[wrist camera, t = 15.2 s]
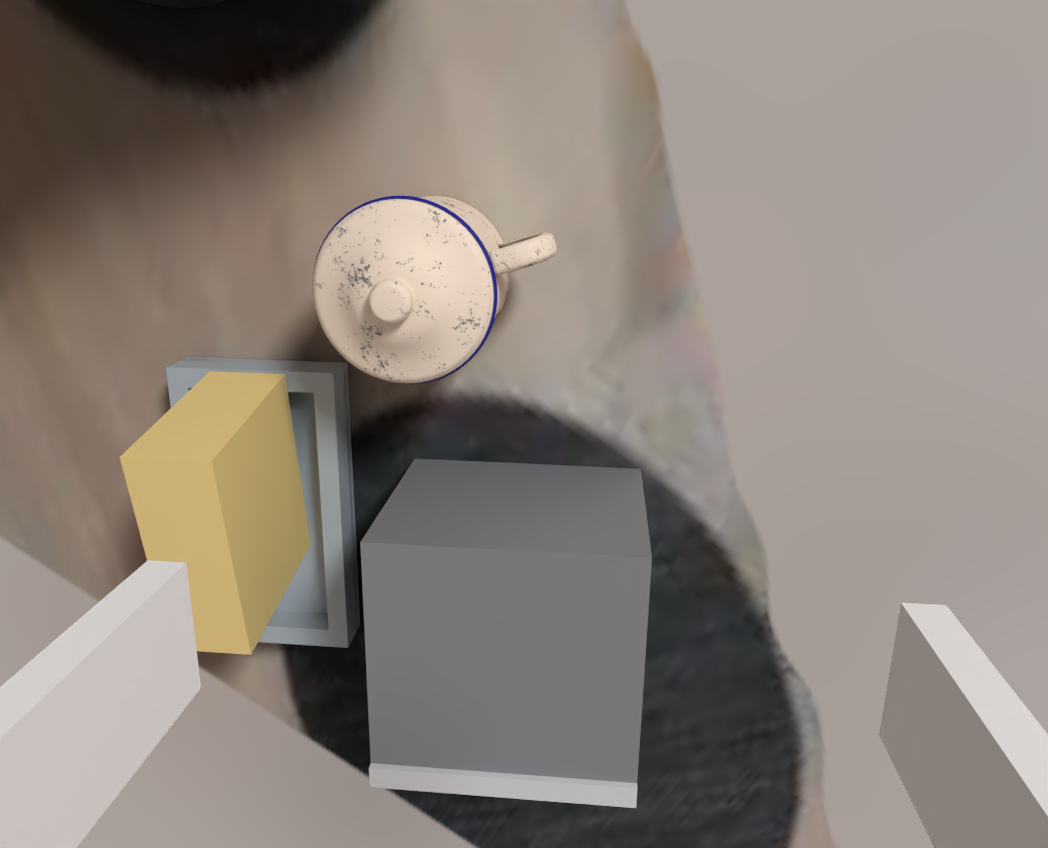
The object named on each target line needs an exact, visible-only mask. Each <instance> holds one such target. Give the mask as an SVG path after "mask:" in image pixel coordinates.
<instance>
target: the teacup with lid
mask: <svg viewBox="0 0 1048 848" xmlns="http://www.w3.org/2000/svg"><path fill="white" fill-rule="evenodd" d="M556 251H557V247H556V243H555V240H554V237H553V236H552V235H551V234H550V233H538V234H534V235H530V236H526V237H523V238H519V239H516V240H512V241H509V242H505V243H503V241H502V239H501V237H500V235H499V234H498V232H497V230H496V229H495V228H494V226H493V225H492V224H491V223H490V222H489V220H488V219H487V218H486V217H484V216H483V215H482V214H481V213H480V212H479V211H477V210H476V209H474V208H473V207H471V206H469V205H468V204H465V203H463V202H461V201H458V200H456V199H452V198H448V197H442V196H424V197H418V198H417V197H411V196H389V197H383V198H379V199H375V200H372V201H369V202H366V203H364V204H362V205H360V206H358V207H356V208H355V209H353V210H352V211H350V212H348V213H347V214H346V215H345V216H344V217H342V218H341V219H340V220H339V221H338V222H337V223H336V224H335V225H334V227H333V228H332V229H331V230H330V232H329V233H328V235H327V236H326V238H325V239H324V241H323V243H322V245H321V247H320V250H319V252H318V255H317V258H316V262H315V266H314V272H313V299H314V305H315V309H316V313H317V316H318V319H319V322H320V324H321V326H322V329H323V330H324V332H325V334H326V336H327V337H328V339H329V340H330V342H331V343H332V345H333V346H334V347H335V349H336V350H337V351H338V352H339V353H340V354H341V355H342V356H343V357H344V358H345V359H346V360H347V361H349V362H350V363H351V364H352V365H354V366H355V367H357V368H358V369H360V370H361V371H363V372H365V373H367V374H369V375H371V376H373V377H376V378H379V379H381V380H385V381H389V382H394V383H400V384H419V383H426V382H431V381H435V380H438V379H441V378H443V377H446V376H448V375H450V374H452V373H453V372H455V371H457V370H458V369H460V368H461V367H463V366H464V365H465V364H466V363H467V362H469V361H470V360H471V359H472V358H473V357H474V356H475V354H476V353H477V352H478V351H479V350H480V348H481V347H482V345H483V344H484V342H485V340H486V339H487V337H488V335H489V333H490V330H491V328H492V325H493V322H494V320H495V319H496V318H497V316H498V315H499V313H500V311H501V309H502V307H503V305H504V303H505V300H506V297H507V294H508V290H509V283H510V272H513V271H516V270H519V269H522V268H526V267H529V266H532V265H534V264H537V263H540V262H543V261H545V260H547V259H550V258H551V257H553V256H554V255H555V253H556Z"/></svg>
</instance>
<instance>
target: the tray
mask: <svg viewBox="0 0 1048 848" xmlns="http://www.w3.org/2000/svg"><path fill="white" fill-rule="evenodd" d="M209 371H217V372H244V373H272V374H285V377H286V384H287V390H288V397H289V404H290V410H291V417H292V424H293V431H294V437H295V444H296V451H297V457H298V464H299V471H300V477H301V484H302V491H303V498H304V504H305V511H306V518H307V524H308V531H309V538H310V544H311V545H310V547H309V548H308V550H307V552H306V554H305V556H304V558H303V560H302V561H301V563H300V565H299V567H298V569H297V571H296V573H295V574H294V576H293V578H292V580H291V582H290V584H289V585H288V587H287V589H286V591H285V593H284V595H283V597H282V598H281V600H280V602H279V604H278V606H277V608H276V610H275V611H274V613H273V615H272V617H271V619H270V621H269V623H268V624H267V626H266V628H265V630H264V632H263V634H262V636H261V637H260V639H259V641H258V642H266V643H281V644H297V645H312V646H328V647H344V648H348V647H349V645H350V643H351V641H352V639H353V638H354V636H355V634H356V632H357V630H358V628H359V626H360V609H359V589H358V569H357V548H356V528H355V508H354V487H353V467H352V447H351V426H350V406H349V386H348V365H347V362H319V361H290V360H262V359H234V358H205V357H187V358H185V359H183V360H181V361H179V362H176V363H174V364H172V365H170V366H168V367H166V372H167V380H168V389H169V398H170V406H171V408H172V407H173V406H174V405H175V404H176V403H177V402H178V401H179V400H180V399H181V398H182V397H183V396H184V395H185V394H186V393H187V392H188V391H190V390H191V389H192V388H193V387H194V386H195V385H196V384H197V383H198V382H199V381H200V380H201V379H202V378H203V377H204V376H205V375H206V374H207V373H208V372H209Z"/></svg>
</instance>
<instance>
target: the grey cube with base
mask: <svg viewBox="0 0 1048 848" xmlns="http://www.w3.org/2000/svg"><path fill="white" fill-rule="evenodd" d="M360 547H361V568H362V589H363V610H364V631H365V652H366V673H367V694H368V715H369V736H370V757H371V764H370V766H369V783H370V787H374V788H387V789H399V790H412V791H425V792H438V793H450V794H463V795H476V796H489V797H502V798H514V799H527V800H540V801H553V802H566V803H578V804H591V805H604V806H617V807H629V808H636V800H637V775H638V760H639V745H640V730H641V715H642V699H643V684H644V669H645V654H646V639H647V623H648V608H649V593H650V578H651V563H652V555H651V547H650V539H649V531H648V523H647V515H646V507H645V499H644V491H643V483H642V475H641V469H634V468H612V467H589V466H567V465H545V464H522V463H500V462H477V461H455V460H433V459H414V461H413V462H412V464H411V465H410V467H409V468H408V470H407V471H406V473H405V474H404V476H403V477H402V479H401V481H400V482H399V484H398V485H397V487H396V488H395V490H394V491H393V493H392V494H391V496H390V497H389V499H388V500H387V502H386V504H385V505H384V507H383V508H382V510H381V511H380V513H379V514H378V516H377V517H376V519H375V520H374V522H373V524H372V525H371V527H370V528H369V530H368V531H367V533H366V534H365V536H364V537H363V539H362V540H361V542H360Z"/></svg>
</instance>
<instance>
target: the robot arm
mask: <svg viewBox="0 0 1048 848" xmlns="http://www.w3.org/2000/svg"><path fill="white" fill-rule="evenodd" d="M142 1H145V2H148V3H151V4H155V5H159V6H164V7H171V8H199V7H206V6H210V5H215V4H218V3H221V2H224V1H227V0H142ZM200 688H201V684H200V675H199V666H198V658H197V649H196V640H195V632H194V623H193V614H192V606H191V597H190V589H189V580H188V571H187V563H186V562H169V561H152V560H148V561H146V562H145V563H144V564H143V565H142V566H141V567H139V568H138V569H137V570H136V571H135V572H134V573H132V574H131V575H130V576H129V577H128V578H127V579H125V580H124V581H123V582H122V583H121V584H120V585H118V586H117V587H116V588H115V589H114V590H113V591H111V592H110V593H109V594H108V595H107V596H106V597H104V598H103V599H102V600H101V601H100V602H99V603H97V604H96V605H95V606H94V607H93V608H92V609H90V610H89V611H88V612H87V613H86V614H85V615H84V616H82V617H81V618H80V619H79V620H78V621H77V622H75V623H74V624H73V625H72V626H71V627H70V628H68V629H67V630H66V631H65V632H64V633H63V634H61V635H60V636H59V637H58V638H57V639H56V640H54V641H53V642H52V643H51V644H50V645H49V646H48V647H46V648H45V649H44V650H43V651H42V652H41V653H39V654H38V655H37V656H36V657H35V658H33V659H32V660H31V661H30V662H29V663H28V664H27V665H25V666H24V667H23V668H22V669H21V670H20V671H18V672H17V673H16V674H15V675H14V676H13V677H11V678H10V679H9V680H8V681H7V682H6V683H4V684H3V685H2V686H1V687H0V848H77V847H78V846H79V844H80V843H81V842H82V841H83V839H84V838H85V837H86V835H87V834H88V833H89V831H90V830H91V829H92V828H93V826H94V825H95V824H96V822H97V821H98V820H99V818H100V817H101V816H102V815H103V813H104V812H105V811H106V810H107V808H108V807H109V805H110V804H111V803H112V802H113V800H114V799H115V798H116V796H117V795H118V794H119V793H120V792H121V790H122V789H123V788H124V786H125V785H126V784H127V782H128V781H129V780H130V778H131V777H132V776H133V775H134V773H135V772H136V771H137V770H138V768H139V767H140V766H141V764H142V763H143V762H144V761H145V759H146V758H147V757H148V755H149V754H150V753H151V752H152V750H153V749H154V748H155V746H156V745H157V744H158V743H159V741H160V740H161V739H162V737H163V736H164V735H165V733H166V732H167V731H168V730H169V728H170V727H171V726H172V724H173V723H174V722H175V721H176V719H177V718H178V717H179V715H180V714H181V713H182V711H183V710H184V709H185V708H186V706H187V705H188V704H189V702H190V701H191V700H192V699H193V697H194V696H195V695H196V694H197V692H198V691H199V690H200ZM879 735H880V737H881V739H882V741H883V743H884V745H885V747H886V749H887V752H888V753H889V755H890V757H891V760H892V762H893V764H894V766H895V768H896V770H897V772H898V774H899V776H900V778H901V780H902V782H903V784H904V786H905V788H906V790H907V793H908V794H909V797H910V798H911V801H912V802H913V805H914V807H915V809H916V811H917V813H918V815H919V817H920V819H921V821H922V823H923V825H924V827H925V829H926V831H927V833H928V835H929V838H930V839H931V842H932V844H933V846H934V848H1048V734H1047V733H1046V732H1045V731H1044V729H1043V728H1042V727H1041V725H1040V724H1039V723H1038V722H1037V720H1036V719H1035V718H1034V717H1033V715H1032V714H1031V713H1030V711H1029V710H1028V709H1027V708H1026V706H1025V705H1024V704H1023V702H1022V701H1021V700H1020V699H1019V698H1018V696H1017V695H1016V694H1015V692H1014V691H1013V690H1012V689H1011V687H1010V686H1009V685H1008V683H1007V682H1006V681H1005V680H1004V678H1003V677H1002V676H1001V674H1000V673H999V672H998V671H997V669H996V668H995V667H994V666H993V664H992V663H991V662H990V660H989V659H988V658H987V657H986V655H985V654H984V653H983V652H982V650H981V649H980V648H979V647H978V645H977V644H976V643H975V641H974V640H973V639H972V638H971V636H970V635H969V634H968V633H967V631H966V630H965V629H964V627H963V626H962V625H961V624H960V622H959V621H958V620H957V618H956V617H955V616H954V615H953V613H952V612H951V611H950V610H949V608H948V607H947V606H946V605H931V604H912V603H901V607H900V614H899V620H898V625H897V632H896V637H895V643H894V649H893V656H892V662H891V668H890V674H889V680H888V686H887V692H886V698H885V704H884V711H883V716H882V722H881V728H880V734H879Z"/></svg>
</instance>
